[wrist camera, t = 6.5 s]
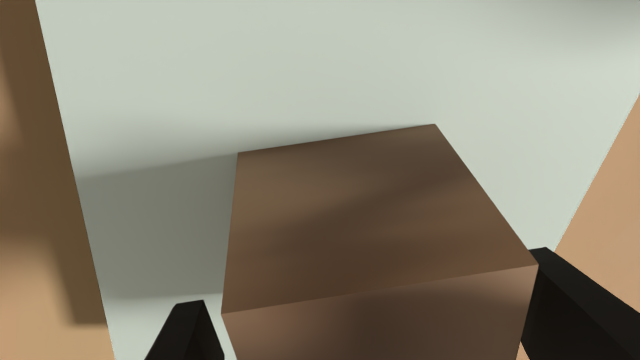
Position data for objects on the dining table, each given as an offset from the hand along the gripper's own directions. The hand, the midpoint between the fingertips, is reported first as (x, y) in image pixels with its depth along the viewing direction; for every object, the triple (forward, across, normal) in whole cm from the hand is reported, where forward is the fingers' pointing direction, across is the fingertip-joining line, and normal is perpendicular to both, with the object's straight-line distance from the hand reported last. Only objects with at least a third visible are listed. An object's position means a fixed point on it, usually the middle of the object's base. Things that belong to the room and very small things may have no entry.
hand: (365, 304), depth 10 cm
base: (+5, 0, 0) cm, 5 cm away
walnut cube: (+3, 0, 0) cm, 3 cm away
